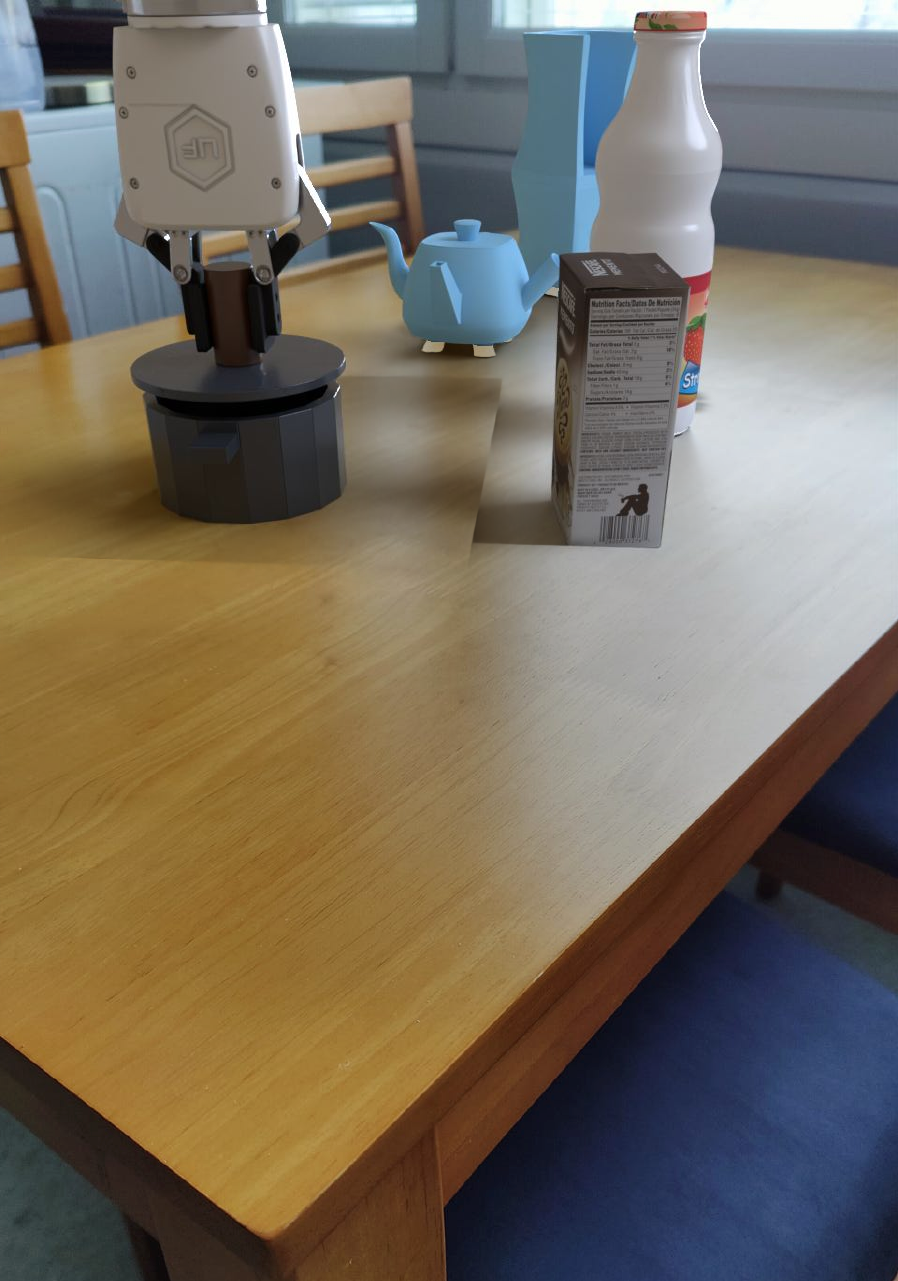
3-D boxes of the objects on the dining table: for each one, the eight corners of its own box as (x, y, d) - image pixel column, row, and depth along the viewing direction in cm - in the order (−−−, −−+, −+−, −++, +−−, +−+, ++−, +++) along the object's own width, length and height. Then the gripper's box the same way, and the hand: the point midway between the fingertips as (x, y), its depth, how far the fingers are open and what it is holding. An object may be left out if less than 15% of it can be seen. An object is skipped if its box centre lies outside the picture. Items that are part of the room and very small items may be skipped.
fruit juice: (567, 409, 97) (587, 11, 80) (674, 403, 98) (716, 8, 81) (593, 446, 89) (621, 15, 73) (708, 439, 90) (762, 12, 74)
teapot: (420, 372, 106) (416, 240, 99) (373, 337, 116) (368, 215, 110) (566, 355, 110) (573, 227, 104) (509, 323, 121) (512, 204, 114)
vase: (570, 300, 128) (583, 35, 114) (509, 286, 134) (514, 33, 119) (627, 286, 134) (646, 31, 119) (565, 274, 140) (577, 29, 125)
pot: (127, 566, 72) (101, 433, 67) (202, 466, 86) (186, 351, 81) (321, 572, 71) (310, 437, 66) (365, 470, 85) (359, 353, 80)
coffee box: (546, 499, 80) (556, 251, 71) (636, 496, 81) (658, 249, 71) (566, 553, 73) (580, 284, 63) (665, 549, 73) (694, 281, 64)
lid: (103, 411, 68) (79, 291, 64) (169, 350, 79) (152, 244, 75) (326, 415, 67) (316, 292, 63) (361, 352, 78) (355, 244, 74)
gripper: (22, -2, 59) (92, 362, 70) (331, -7, 58) (354, 365, 68) (73, -5, 65) (131, 331, 76) (355, -9, 64) (372, 333, 74)
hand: (236, 344), depth 72 cm, fingers closed on lid, 3 cm apart
